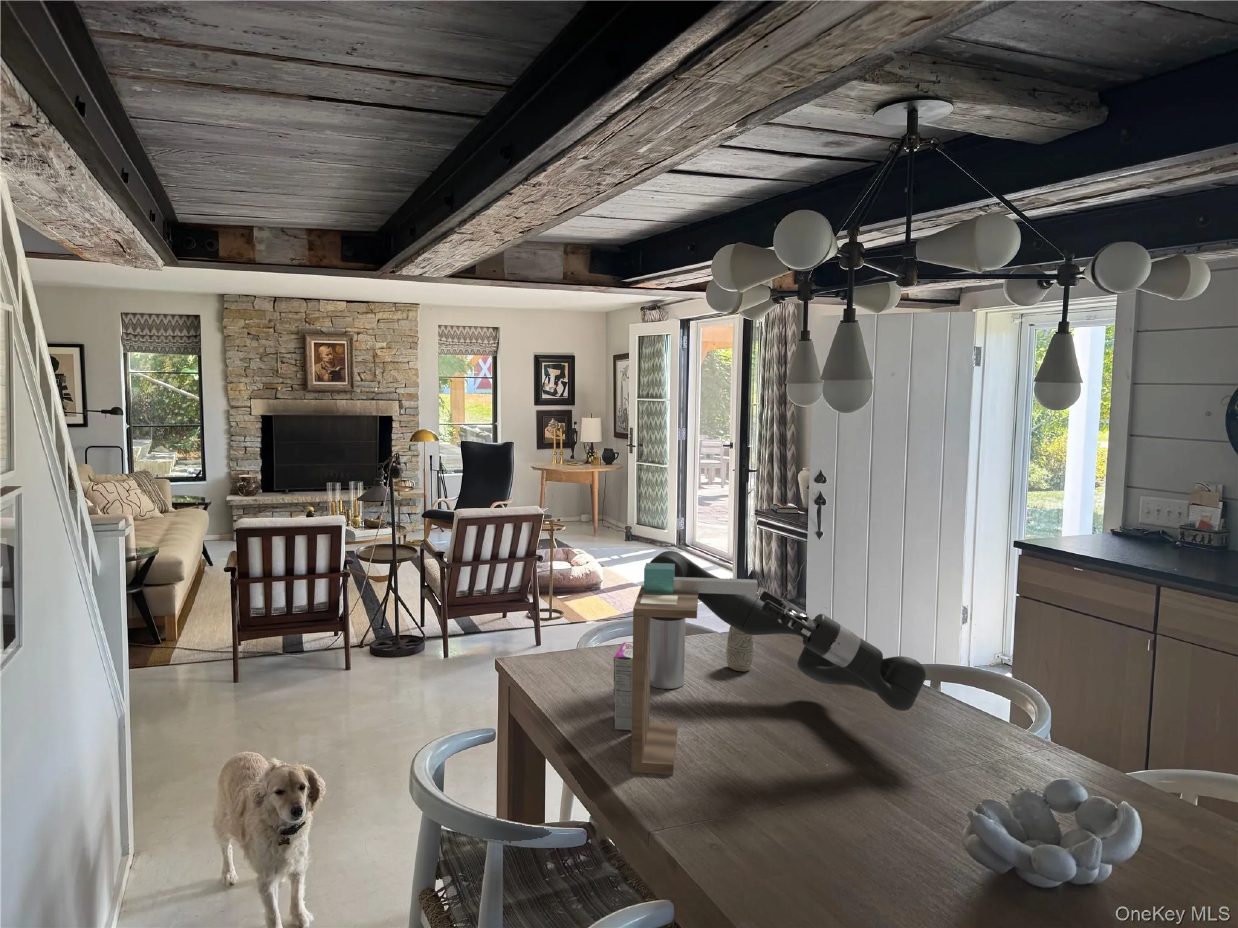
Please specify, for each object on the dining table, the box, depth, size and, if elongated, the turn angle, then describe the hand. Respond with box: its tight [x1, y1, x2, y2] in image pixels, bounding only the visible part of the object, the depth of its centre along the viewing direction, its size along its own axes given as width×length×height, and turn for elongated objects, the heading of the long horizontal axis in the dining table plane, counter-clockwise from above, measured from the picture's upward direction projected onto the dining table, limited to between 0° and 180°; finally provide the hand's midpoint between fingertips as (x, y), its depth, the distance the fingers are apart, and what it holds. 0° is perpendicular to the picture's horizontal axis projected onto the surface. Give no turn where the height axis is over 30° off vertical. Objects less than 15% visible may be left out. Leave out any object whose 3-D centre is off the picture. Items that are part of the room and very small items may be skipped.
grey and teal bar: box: [643, 562, 759, 596], centre depth 171 cm, size 6×23×5 cm, turn 84°
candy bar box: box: [613, 641, 633, 732], centre depth 183 cm, size 11×5×16 cm, turn 168°
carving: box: [725, 625, 756, 673], centre depth 220 cm, size 6×8×12 cm
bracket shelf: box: [630, 584, 699, 776], centre depth 167 cm, size 20×12×32 cm, turn 174°
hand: (762, 599), depth 170 cm, fingers open, 8 cm apart
